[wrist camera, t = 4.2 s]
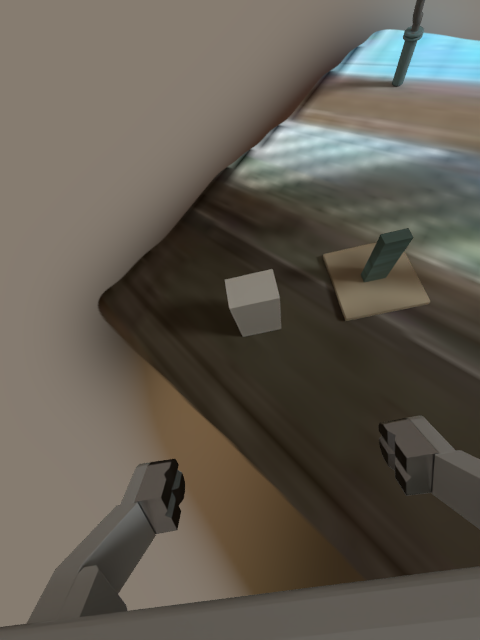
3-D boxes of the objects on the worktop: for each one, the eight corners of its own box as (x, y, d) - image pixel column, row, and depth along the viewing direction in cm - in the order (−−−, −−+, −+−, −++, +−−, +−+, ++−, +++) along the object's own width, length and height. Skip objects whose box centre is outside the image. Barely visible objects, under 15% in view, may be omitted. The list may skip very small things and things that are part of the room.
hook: (396, 69, 44) (446, -91, 31) (412, 70, 43) (471, -93, 30) (381, 97, 42) (426, -61, 29) (397, 99, 41) (452, -62, 28)
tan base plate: (427, 304, 28) (474, 264, 21) (345, 321, 29) (364, 288, 22) (395, 240, 32) (425, 189, 25) (322, 257, 33) (332, 211, 26)
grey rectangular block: (281, 328, 30) (279, 297, 23) (242, 336, 30) (229, 308, 23) (275, 305, 31) (272, 268, 24) (238, 313, 32) (224, 279, 24)
